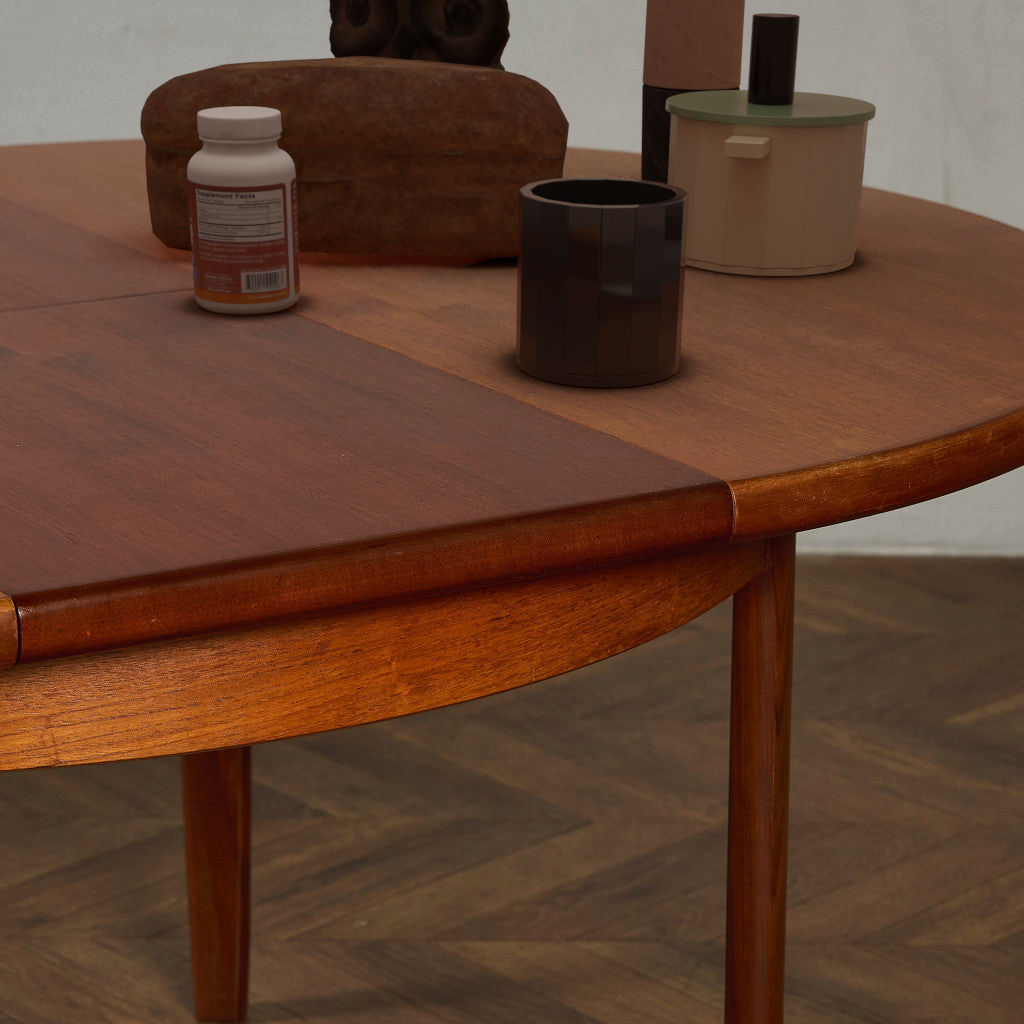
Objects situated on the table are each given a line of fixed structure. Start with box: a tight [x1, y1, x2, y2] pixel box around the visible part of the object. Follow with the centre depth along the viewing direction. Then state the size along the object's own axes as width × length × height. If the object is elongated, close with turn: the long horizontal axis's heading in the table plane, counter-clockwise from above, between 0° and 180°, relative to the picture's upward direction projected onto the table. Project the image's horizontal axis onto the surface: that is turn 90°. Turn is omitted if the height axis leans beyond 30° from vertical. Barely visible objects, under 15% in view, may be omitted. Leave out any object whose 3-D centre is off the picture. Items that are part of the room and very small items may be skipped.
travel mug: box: [640, 0, 746, 184], centre depth 128 cm, size 8×8×20 cm
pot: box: [668, 114, 869, 277], centre depth 109 cm, size 13×18×10 cm
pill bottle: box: [187, 106, 301, 315], centre depth 94 cm, size 6×6×11 cm
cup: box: [515, 176, 689, 389], centre depth 83 cm, size 8×8×9 cm
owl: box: [328, 0, 511, 71], centre depth 128 cm, size 13×13×20 cm
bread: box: [139, 56, 570, 259], centre depth 109 cm, size 14×28×12 cm, turn 90°
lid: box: [666, 12, 877, 127], centre depth 106 cm, size 14×14×7 cm
